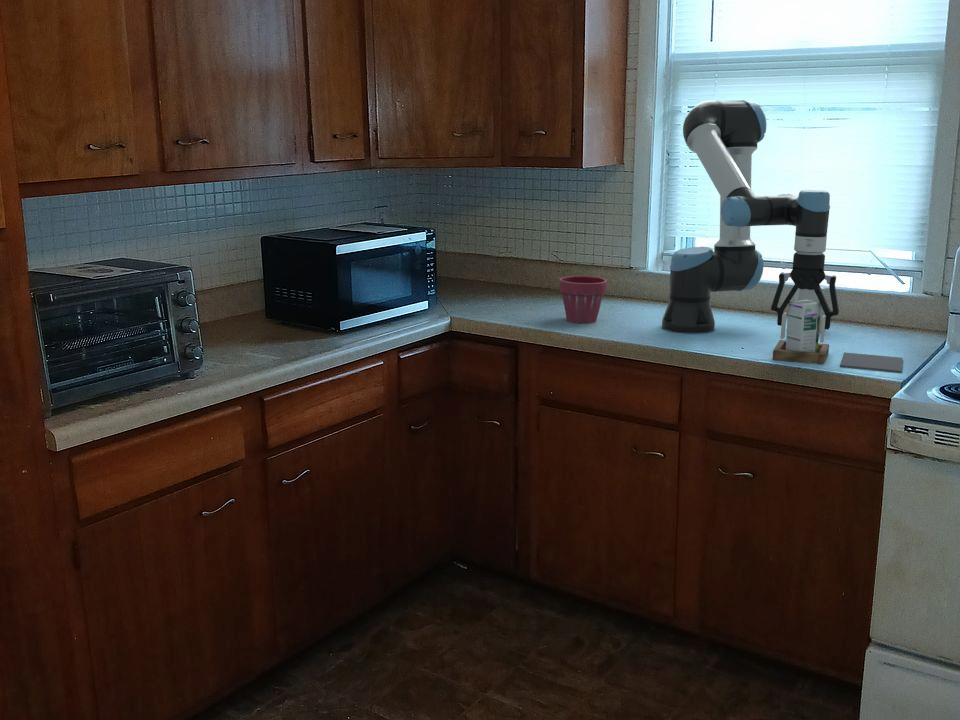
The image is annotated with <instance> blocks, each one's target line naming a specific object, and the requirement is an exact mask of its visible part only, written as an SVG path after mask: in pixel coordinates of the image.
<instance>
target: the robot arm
mask: <svg viewBox="0 0 960 720" xmlns="http://www.w3.org/2000/svg"><path fill="white" fill-rule="evenodd" d="M766 132H767V117H766V114H765V112H764V109H763V108H762V106H761V104H759V103H757V102H755V101H753V100H743V99H742V100H705V101H701V102H700V103H697V104H696V105H694V107H692V108H691V109H690V110H689V112H688V113H687V114H686V117H685V118H684V121H683V126H682V135H683V140H684V142H685V144H686V146H687V148H688V149H689V150H690V151H691V152H693V153H695V154H696V155H697V158H698V159H699V161H700V163H701V165H702V166H703V168H704V169H705V171H706V173H707V175H708V177H709V178H710V181H711V182H712V184H713V186H714V188H715V189H716V191H717V192H718V194H719V198H720V199H719V210H720V211H719V239H718V241H716V243H715V244H714V246H713V248H711V247H709V246H692V247H684V248H682V249H677V250H676V251H674V252H673V254H672V256H671V259H670V260H671V261H670V266H669V269H670V270H669V271H670V272H669V273H670V275H669V295H668V296H669V297H668V299H669V300H668V303H667V306H666V309H665V311H664V314H663V317H662V320H661V328H662V329H664V330H666V331H669V332H675V333H683V334H704V333H710V332H713V331H714V330H715V327H716V326H715V325H716V322H715V317H714V313H713V310H712V306H711V293H715V292H735V291H736V292H741V291H746V290H747V291H748V290H752V289H754V288H755V287H757V285H758V283H759V282H760V281H761V278H762V276H763V273H764V266H765V265H764V259H763V255H762V253H761V251H759V250H757V249H756V244H755V242H754V241H752V239H751V227H762V226H794V227H795V232H794V233H795V234H794V235H795V236H794V245H793V250H794V251H795V252H794V253H793V259H792V260H793V261H792V269H791V271H790V272H783V271H781V272H780V273H779V275H778V281H779V283H778V285H777V288H776V292H775V294H774V296H773V297H774V298H773V301H772V304H771V307H770V310H771V311H774V312H776V314H777V322H776V324H777V326H780V339H779V340H785V337H786V328H787V316H788V312H786V311H785V309H786V308H787V306H788V305H789V302H790V301H792V299H793V297H794V296H795V293H796V291H797V289H798V288H799V289H808V290H813V289H814V291H815V293H816V295H817V297H818V300H819V302H820V304H821V306H822V309H823V317H822V326H821V332H820V339H819V343H821V344H824V342H825V336H826V335H825V333H826V330H828V331H829V330H830V328H831V321H832V320H831V319H832V317H834V316H838V315H839V313H840V309H839V302H838V295H837V290H836V282H837V276H836V275H834V274H833V275H828V274H826V273H825V263H826V262H825V261H826V255H825V252H826V249H827V241H828V227H829V219H830V218H829V217H830V210H831V204H830V199H831V198H830V197H831V194H830V192H829V191H827V190H823V189H820V190H819V189H804V190H803V189H802V190H800V191H799V193H798V195H793V194H791V193H787V194H784V193H783V194H778V195H777V194H776V195H759V196H757V195H755V193H754V191H753V190H752V160H753V159H752V157H753V156H752V155H753V154H754V152H755V151H756V150H758V143H760V142H761V141H762V140H763V139H764V138H765V134H766ZM713 249H714V250H713ZM789 278H790V279H791V281H792V282H793V284H794V285H793V286H792V288H791V290H790V291H789V293H788V294H787V296H786V297H785V299H784V301H783V302H782V304H781V306H779V302H780V299H781V296H782V293H783V289H784V287H785V283H786V282H787V281H788V280H789ZM824 280H825V281H826V284H827V285H828V287H829V289H828V290H829V295H830V300H831V307H832V310H831V309H830V307H829V304H828V301H827V299H826V297H824V295H823V293H822V290H821V287H820V285H821V283H822V282H823V281H824Z"/></svg>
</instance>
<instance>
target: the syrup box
mask: <svg viewBox="0 0 960 720" xmlns="http://www.w3.org/2000/svg"><path fill="white" fill-rule="evenodd" d="M787 306H788V307H787V308H788V309H787V319H786V336H785V337H786V339H785V340H786V350H792V351H803V352H814V353H818V343H819V340H820V339H819V337H820V332H819V326H820V312H821V304H820V303H819V302H816V301H812V300H801V301H795V300H793V301H792V300H790V302H789V303H788V305H787Z"/></svg>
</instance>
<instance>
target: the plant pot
mask: <svg viewBox="0 0 960 720" xmlns="http://www.w3.org/2000/svg"><path fill="white" fill-rule="evenodd" d="M558 281H559V283H558V284H559V285H558V291H559V292H560V293H561V295H562V301H563V305H564V311H565V317H566V320H567V321H568V322H570V323H574V324H593V323H596V322H597V319H598V316H599V313H600V309H601V305H602V301H603V298H604V297H603V296H604V294H606V293H607V284H608V281H607V279H606V278H604V277H598V276H591V275H569V276H562V277H560V278H559V280H558Z"/></svg>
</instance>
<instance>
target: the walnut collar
mask: <svg viewBox="0 0 960 720" xmlns="http://www.w3.org/2000/svg"><path fill="white" fill-rule="evenodd" d="M829 348H830V344H829V343H821V342H818V353H814V352H803V351H792V350H786V339H779V340H778V341H777V343H776V345H775V347H773V350H772V360H774V361H784V362H791V363H792V362H793V363H802V362H803V364H813V363H814V365H823V364H824V363H826V360H827V358H828V356H829V350H830V349H829ZM815 363H816V364H815ZM824 365H825V364H824Z"/></svg>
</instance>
